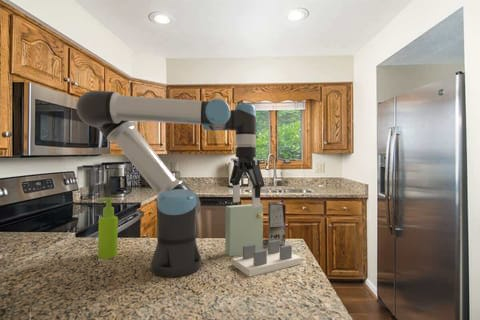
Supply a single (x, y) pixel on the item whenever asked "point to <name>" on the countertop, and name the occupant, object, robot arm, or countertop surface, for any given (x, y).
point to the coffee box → (276, 221)
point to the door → (243, 228)
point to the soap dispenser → (107, 231)
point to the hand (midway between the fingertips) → (245, 204)
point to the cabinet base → (266, 259)
